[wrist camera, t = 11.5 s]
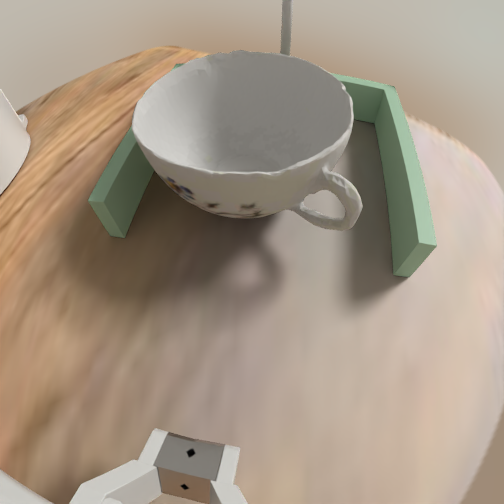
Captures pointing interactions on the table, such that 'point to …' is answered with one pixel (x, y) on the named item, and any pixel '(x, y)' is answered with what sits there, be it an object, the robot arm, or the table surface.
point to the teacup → (249, 135)
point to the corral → (364, 109)
